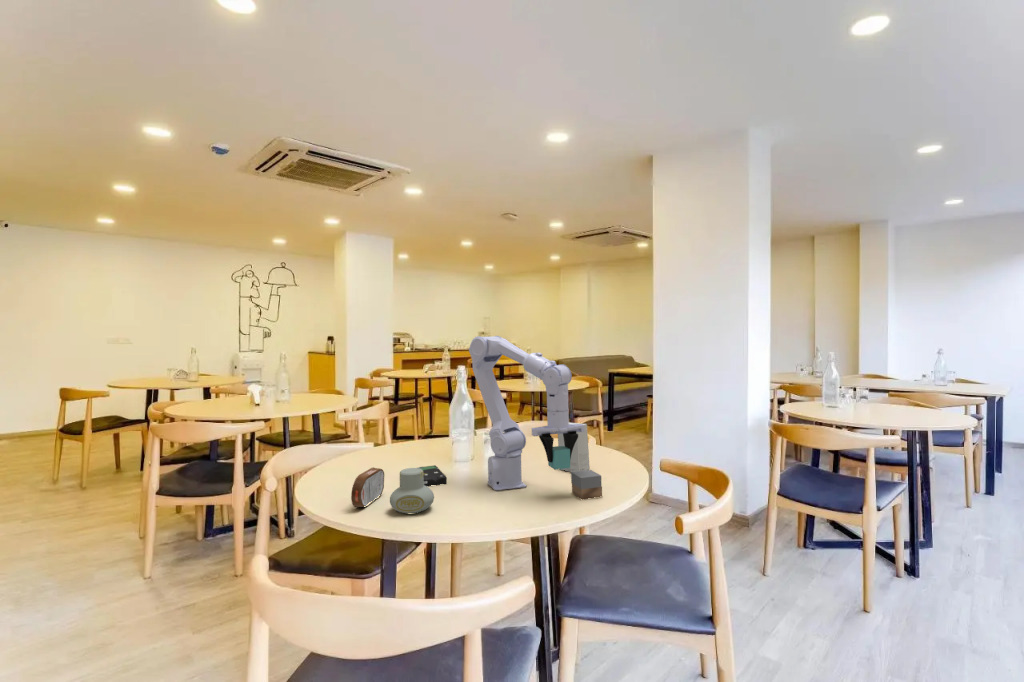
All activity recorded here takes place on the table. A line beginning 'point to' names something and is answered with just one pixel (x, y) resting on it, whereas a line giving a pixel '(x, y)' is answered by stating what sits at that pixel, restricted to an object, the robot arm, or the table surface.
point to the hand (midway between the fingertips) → (558, 460)
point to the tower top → (586, 479)
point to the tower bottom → (586, 492)
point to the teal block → (560, 458)
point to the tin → (367, 487)
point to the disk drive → (433, 476)
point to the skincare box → (578, 451)
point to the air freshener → (411, 492)
